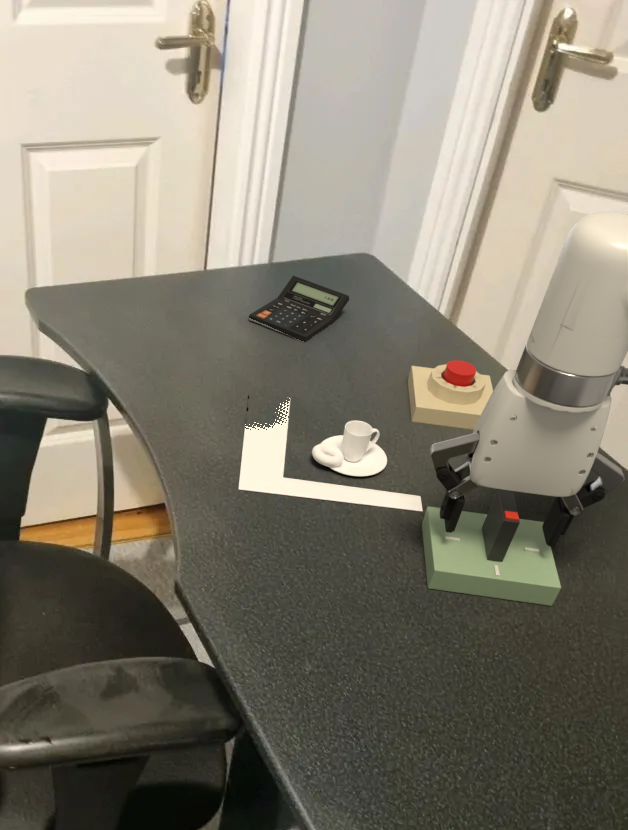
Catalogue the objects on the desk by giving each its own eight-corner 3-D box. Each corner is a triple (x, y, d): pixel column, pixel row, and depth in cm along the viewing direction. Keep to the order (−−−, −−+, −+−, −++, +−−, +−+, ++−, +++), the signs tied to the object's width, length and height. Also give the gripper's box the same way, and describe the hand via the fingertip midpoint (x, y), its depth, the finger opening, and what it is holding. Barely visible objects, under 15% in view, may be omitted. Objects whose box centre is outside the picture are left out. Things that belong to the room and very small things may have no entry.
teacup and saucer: (309, 474, 95) (316, 443, 92) (310, 434, 101) (316, 404, 98) (388, 483, 95) (397, 453, 92) (384, 443, 101) (392, 413, 98)
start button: (470, 374, 106) (474, 362, 105) (473, 389, 104) (478, 376, 102) (441, 371, 106) (445, 358, 105) (443, 385, 104) (447, 373, 103)
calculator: (248, 320, 121) (251, 300, 118) (291, 294, 127) (294, 274, 125) (304, 343, 117) (308, 322, 115) (346, 314, 124) (350, 294, 122)
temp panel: (535, 540, 89) (545, 520, 88) (552, 606, 82) (562, 586, 80) (421, 524, 90) (428, 504, 88) (427, 588, 83) (435, 568, 81)
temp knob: (481, 527, 86) (498, 486, 83) (496, 529, 86) (513, 488, 83) (487, 560, 83) (504, 518, 79) (502, 562, 83) (521, 520, 79)
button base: (484, 390, 111) (494, 362, 108) (493, 432, 104) (504, 404, 101) (407, 380, 111) (415, 352, 109) (411, 422, 104) (419, 393, 102)
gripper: (658, 365, 73) (580, 519, 85) (456, 339, 74) (407, 495, 86) (682, 411, 68) (595, 568, 80) (464, 383, 69) (410, 542, 81)
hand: (497, 530), depth 83 cm, fingers open, 9 cm apart
